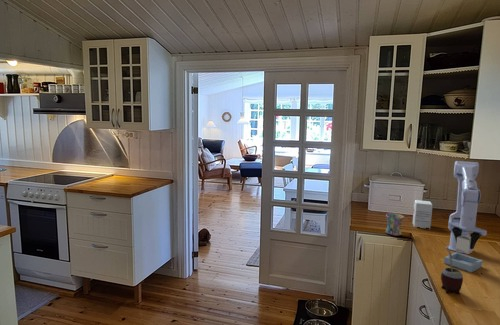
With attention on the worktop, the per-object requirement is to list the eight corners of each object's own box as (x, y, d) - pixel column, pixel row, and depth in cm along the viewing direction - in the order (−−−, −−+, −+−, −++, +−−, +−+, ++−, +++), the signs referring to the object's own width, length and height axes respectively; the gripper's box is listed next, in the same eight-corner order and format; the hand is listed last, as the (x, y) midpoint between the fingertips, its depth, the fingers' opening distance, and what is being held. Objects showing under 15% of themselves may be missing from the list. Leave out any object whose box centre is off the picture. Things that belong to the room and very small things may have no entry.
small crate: (460, 247, 155) (462, 235, 154) (472, 251, 151) (474, 238, 150) (455, 250, 152) (457, 237, 151) (467, 254, 148) (469, 240, 147)
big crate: (455, 258, 160) (455, 252, 159) (481, 266, 151) (482, 260, 151) (443, 263, 153) (444, 257, 153) (470, 272, 145) (471, 266, 144)
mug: (384, 230, 198) (386, 212, 196) (402, 233, 194) (404, 214, 192) (383, 236, 187) (384, 217, 186) (401, 239, 183) (403, 220, 182)
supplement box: (412, 223, 214) (414, 199, 212) (428, 224, 211) (430, 201, 209) (413, 227, 205) (416, 202, 203) (430, 229, 202) (432, 204, 200)
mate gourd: (456, 297, 124) (460, 258, 122) (433, 288, 130) (437, 250, 128) (465, 292, 128) (469, 253, 126) (443, 283, 134) (447, 246, 132)
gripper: (446, 213, 153) (443, 243, 154) (483, 222, 141) (479, 254, 143) (453, 211, 157) (450, 240, 159) (490, 219, 145) (486, 250, 147)
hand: (464, 246), depth 151 cm, fingers closed on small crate, 5 cm apart
